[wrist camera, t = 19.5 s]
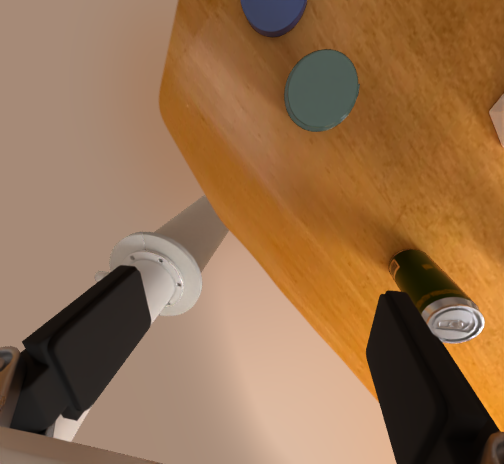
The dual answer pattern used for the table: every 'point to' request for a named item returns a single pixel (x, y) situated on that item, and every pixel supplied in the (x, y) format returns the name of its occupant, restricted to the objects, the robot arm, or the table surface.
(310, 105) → the jam jar
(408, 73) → the table surface
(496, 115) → the jar
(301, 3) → the lid
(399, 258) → the beer can
